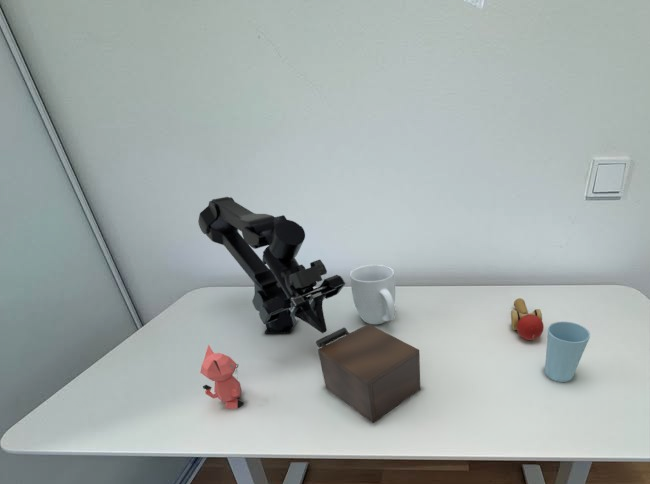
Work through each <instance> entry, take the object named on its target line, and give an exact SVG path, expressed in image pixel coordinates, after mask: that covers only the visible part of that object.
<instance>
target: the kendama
mask: <svg viewBox="0 0 650 484" xmlns="http://www.w3.org/2000/svg"><path fill="white" fill-rule="evenodd" d="M513 307H514V308H515V310H511V312H510V321H511V327H512V330H513V331H517V333H518V335H519V336H520V337H521V338H522V339H524V340H527V341H534V340H537V339H538V338H539V337H540V336H542V334H543V332H544V327H545V326H544V323H543V322H544V321H543V313H542V310H541V309H540V308H535V309H534V310H533V311H532V312H529V311H528V308H527V305H526V302H525V300H524V299H523V298H520V297H518V298H515V300H514V301H513Z"/></svg>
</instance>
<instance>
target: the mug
mask: <svg viewBox="0 0 650 484" xmlns="http://www.w3.org/2000/svg"><path fill="white" fill-rule="evenodd" d="M395 279H396V277H395V271H394V269H393V268H392V267H390V266H388V265H386V264H378V263H377V264H375V263H372V264H364V265H361V266H357V267H355V268H354V269H351V271H350V272H349V280H350V281H349V282H350V288H351V294H352V299H353V303H354V305H355V306H354V307H355V308H356V312H357V313H358V315H359V317H360V319H362V320H363V321H364V322H365V323H366V324H370V325H381V324H385V323H386V322H391V321H394V320H395V318H396V307H395V304H396V280H395Z"/></svg>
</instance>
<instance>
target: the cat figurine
mask: <svg viewBox="0 0 650 484" xmlns="http://www.w3.org/2000/svg"><path fill="white" fill-rule="evenodd" d="M238 367H239V363H237V362H235V360H234V359H233V358H232V357H230V356H228V355H227V354H224V353H221V352H216V353H214V351H213V350H212V348H211V346H210V344H207V348H206V351H205V355H204V358H203V361H202V364H201V367H200V372H199V373H200V374H202V376H204V377H205V378H207V379H208V380H210V381H211V382H214V392H212V391H211V390H212V389H213V387H212V386H210V385H208V384H205V385H203V386H202V388H203V389H204V393H205V395H207V396H208V397H209V398H212V399H218V400H220V401H221V402H222V403H224V404H225V406H224V409H228V410H234V409H235V410H236V409H237V410H238V409H240V408H241V407H242V406H244V401H242V400H240V399H238V398H239V397H241V395H242V386H241V381H239V380H238V378H236V377H235V375H236V374H239V373H238V372H239V371H238Z"/></svg>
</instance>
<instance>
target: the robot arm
mask: <svg viewBox="0 0 650 484" xmlns="http://www.w3.org/2000/svg"><path fill="white" fill-rule="evenodd" d="M198 226H199V229H200V231H201V232H202V234H204V235H206V236H207V238H209V240H210V241H211V242H213V243H215V244H218V245H221V246H224V247H225V248H226V250H227V251H228V252H229V254H230V255H231V256H232V258H233V259H234V260H235V261H236V263H238V265H239V266H240V267H241V269H242V270H243V271H244V272H245V273H246V275H247V276H248V277H249V278H250V280H251V281H252V282H253V286H254V287H253V288H254V289H253V290H254V296H253V298H252V299H251V300H252V302H251V303H252V305H253V307H254V310H256V311H257V312H258V315H259V318H260V320H261V321H262V324H263V325H265V328H266V329H264V334H265V335H270V334H271V335H277V334H279V335H280V334H290V333H292V331H293V329H294V327H295V325H296V324H297V319H299V320H301V321H302V322H304V323H307V325H310V326H311V327H312V328H314V329H315V330H317V331H318V332H320V333H321V334H324V333H326V332H327V331H328V328H327V325H326V320H325V316H324V309H323V302H324V300H325V299H326V300H327V299H330V298H332V297H335V296H337V295H338V294H340V292H341V291H342V289H343V288H344V287H345V285H347V283H346V282H345V280H344V277H342V276H341V275H338V274H334V275H332V276H329V277H327V278H324V279H323V278H322V276H324V275H327V273H328V270H327V268H326V265H325V264H324V263H323V261H322V260H321V259H317V260H313V261H312V262H310V263H309V266H310V267H308V268H306V266H304V265H303V264H299V262H298V261H297V259H296V257H297V256H298V255H299V251H300V250H301V248H302V245H303V243H304V241H305V239H306V231H305V229H304V228H303V227H302V225H300V224H299V223H297V222H296V221H294V220H291V219H287V217H286V216H285V215H282V214H281V215H279V216H278V215H277V216H274V215H271V214H268V213H255V212H253V211H251V210H250V209H248V208H246V207H245V206H243V205H242V204H239V203H238V202H237V201H235V199H234V198H233V197H231V196H224V197H223V196H222V197H217V198H213V199H211V200H210V201H208V205H207V207H205V208H204V209H202V211H201V212H199V215H198ZM239 231H240V232H241V234H240V232H239ZM264 247H265V249H264V250H263V251H262V259H261V257H260V256H259V255H258V253H256V252H255V251H254V250H257V249H260V248H264ZM319 282H321V284H320V286H318V287H316V286H317V284H318V283H319ZM314 287H315V288H314ZM296 318H297V319H296Z"/></svg>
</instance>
